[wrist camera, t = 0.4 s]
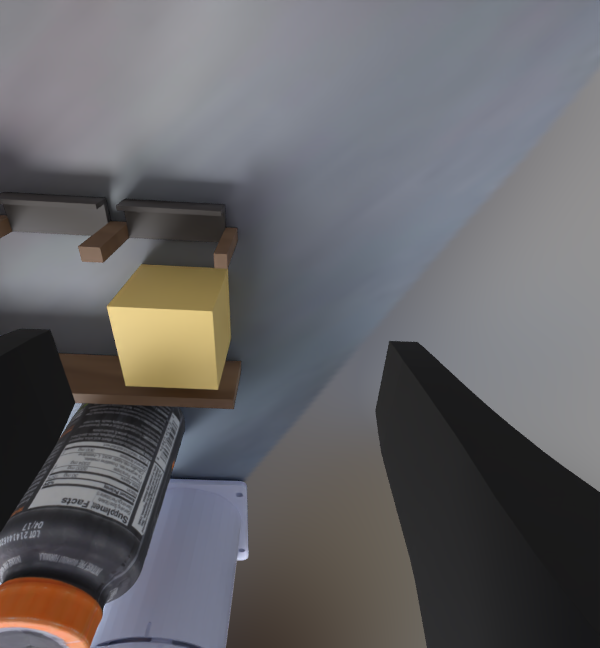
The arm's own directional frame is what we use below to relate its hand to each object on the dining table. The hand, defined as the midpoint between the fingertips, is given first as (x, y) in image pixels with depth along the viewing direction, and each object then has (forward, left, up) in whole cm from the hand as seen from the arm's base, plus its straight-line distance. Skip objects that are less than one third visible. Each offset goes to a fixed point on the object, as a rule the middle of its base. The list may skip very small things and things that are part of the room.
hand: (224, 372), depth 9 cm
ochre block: (-4, +3, -10) cm, 12 cm away
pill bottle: (-12, +7, -10) cm, 18 cm away
